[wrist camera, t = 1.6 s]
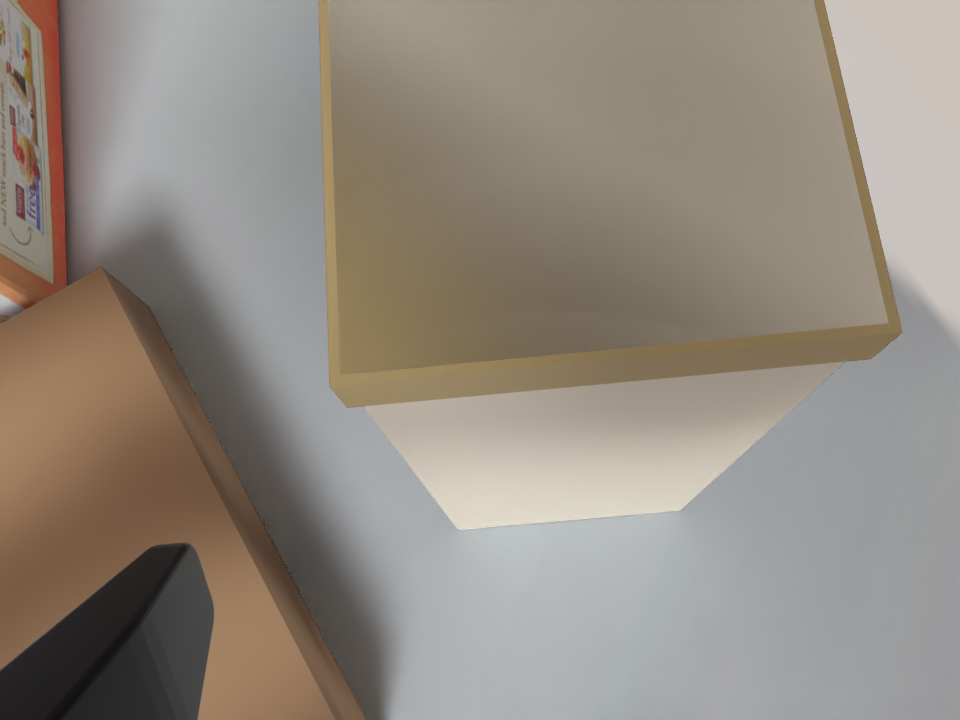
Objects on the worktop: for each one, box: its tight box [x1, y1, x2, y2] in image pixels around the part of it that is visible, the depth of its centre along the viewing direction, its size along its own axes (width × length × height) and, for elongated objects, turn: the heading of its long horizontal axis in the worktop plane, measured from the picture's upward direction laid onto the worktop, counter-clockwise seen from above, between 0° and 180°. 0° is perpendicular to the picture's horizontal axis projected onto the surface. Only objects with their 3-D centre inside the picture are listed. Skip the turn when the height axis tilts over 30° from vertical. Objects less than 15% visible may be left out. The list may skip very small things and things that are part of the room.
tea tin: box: [319, 0, 902, 530], centre depth 15 cm, size 5×5×12 cm
